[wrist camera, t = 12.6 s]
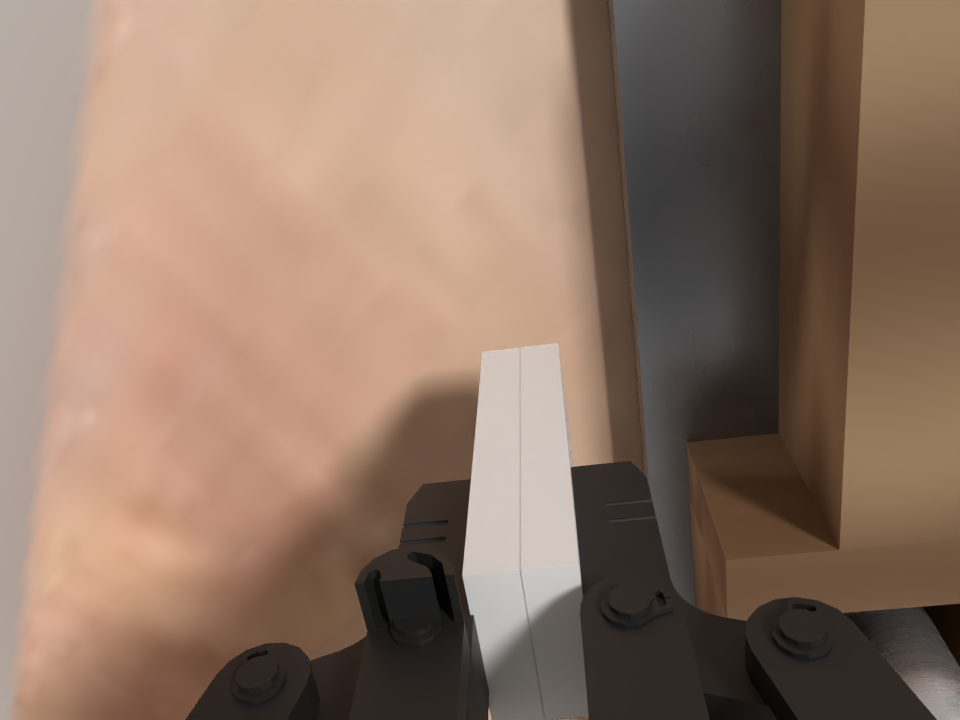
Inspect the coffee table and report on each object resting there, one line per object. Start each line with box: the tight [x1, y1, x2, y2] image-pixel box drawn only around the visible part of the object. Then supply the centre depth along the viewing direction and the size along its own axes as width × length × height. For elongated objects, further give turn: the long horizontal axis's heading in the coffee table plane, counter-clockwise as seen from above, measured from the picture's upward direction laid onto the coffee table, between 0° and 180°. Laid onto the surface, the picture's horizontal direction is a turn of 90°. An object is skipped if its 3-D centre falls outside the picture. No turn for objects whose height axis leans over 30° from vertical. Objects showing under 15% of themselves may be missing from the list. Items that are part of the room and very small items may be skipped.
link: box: [687, 0, 960, 667], centre depth 16 cm, size 18×7×4 cm, turn 9°
